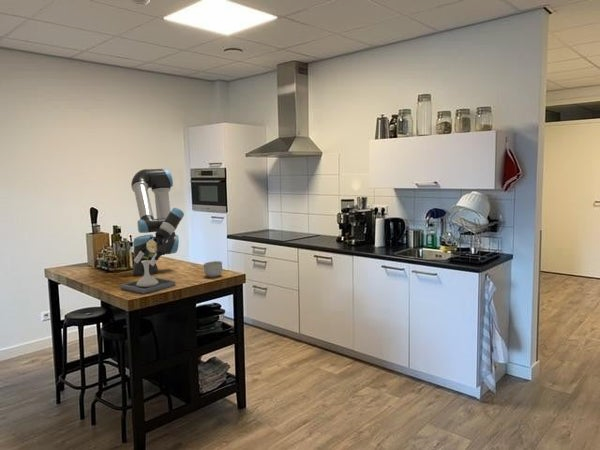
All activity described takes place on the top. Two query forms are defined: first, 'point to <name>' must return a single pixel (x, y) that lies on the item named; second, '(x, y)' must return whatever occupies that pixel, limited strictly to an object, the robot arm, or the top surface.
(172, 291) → the top surface
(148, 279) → the flower in vase
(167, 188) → the robot arm
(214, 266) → the teacup
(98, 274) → the top surface
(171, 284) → the charcoal tray
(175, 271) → the top surface
